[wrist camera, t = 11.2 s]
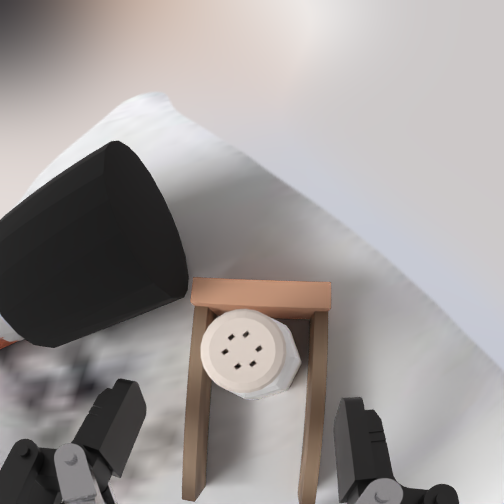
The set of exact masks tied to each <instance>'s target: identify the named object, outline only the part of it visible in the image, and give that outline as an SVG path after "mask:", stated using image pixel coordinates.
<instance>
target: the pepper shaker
mask: <svg viewBox="0 0 504 504" xmlns="http://www.w3.org/2000/svg"><path fill="white" fill-rule="evenodd" d="M201 360H202V363H203V367H204V369H205V371H206V372H207V374H208V376H209V377H210V378H211V379H212V380H213V381H214V383H216V384H217V385H219V386H221V387H222V388H224V389H226V390H228V391H230V392H232V393H234V394H236V395H238V396H240V397H242V398H244V399H246V400H258V399H262V398H265V397H268V396H271V395H275V394H278V393H281V392H284V391H287V390H288V389H289V387H290V385H291V383H292V381H293V379H294V377H295V375H296V373H297V371H298V369H299V367H300V366H301V364H302V361H301V358H300V355H299V352H298V349H297V346H296V344H295V341H294V338H293V335H292V333H291V331H290V330H289V329H288V327H287V326H286V325H284V324H282V323H281V322H279V321H277V320H275V319H273V318H270V317H268V316H267V315H265V314H263V313H261V312H259V311H255V310H250V309H235V310H232V311H229V312H226V313H224V314H222V315H221V316H219V317H217V318H216V319H215V320H214V321H213V322H212V323H211V324H210V325H209V326H208V328H207V330H206V332H205V333H204V335H203V338H202V342H201Z"/></svg>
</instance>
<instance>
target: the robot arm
mask: <svg viewBox="0 0 504 504" xmlns="http://www.w3.org/2000/svg"><path fill="white" fill-rule="evenodd" d="M145 416H146V403H145V401H144V398H143V395H142V393H141V390H140V387H139V385H138V383H137V382H135V381H130V380H125V379H118V380H117V381H116V383H115V385H114V386H113V388H112V389H109V388H107V389H106V390H104V391H103V392H102V393H101V394H100V395H98V397H97V399H96V401H95V402H94V404H93V407H92V408H91V409H90V411H89V414H88V415H87V416H86V418H85V420H84V422H83V424H82V425H81V427H80V429H79V431H78V433H77V434H76V436H75V438H74V440H73V441H72V442H71V443H68V444H64V445H62V446H60V447H59V448H58V449H49V448H39V447H38V446H37V445H36V444H35V443H34V442H33V441H32V440H29V439H21V440H19V441H17V442H16V443H15V444H14V446H13V447H12V449H11V451H10V453H9V455H8V457H7V459H6V461H5V462H4V464H3V466H2V468H1V470H0V504H118V503H117V500H116V497H115V495H114V492H113V490H112V487H111V484H110V482H109V480H110V478H111V475H113V476H116V477H119V478H121V475H122V473H123V470H124V468H125V465H126V463H127V460H128V458H129V455H130V453H131V450H132V448H133V445H134V443H135V441H136V438H137V436H138V433H139V431H140V428H141V426H142V424H143V421H144V419H145ZM334 441H335V453H336V465H337V478H338V493H339V503H346V502H347V504H459V500H458V495H457V492H456V491H455V489H454V488H453V487H451V486H449V485H446V484H438V485H435V486H433V487H432V488H430V489H429V490H423V489H412V488H407V487H404V486H402V485H401V484H399V483H398V482H397V481H396V480H395V478H394V476H393V473H392V468H391V462H390V457H389V453H388V448H387V443H386V439H385V434H384V430H383V425H382V421H381V419H380V417H379V416H378V415H377V413H376V412H375V411H374V410H365V409H364V404H363V400H362V398H361V397H355V398H342V399H341V402H340V405H339V408H338V412H337V415H336V418H335V422H334ZM62 499H63V503H61V501H62Z"/></svg>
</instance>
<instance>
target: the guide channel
mask: <svg viewBox="0 0 504 504" xmlns="http://www.w3.org/2000/svg"><path fill="white" fill-rule="evenodd" d="M190 302H191V303H192V304H193V305H194V306H195V308H194V317H193V327H192V337H191V348H190V359H189V371H188V384H187V398H186V413H185V430H184V450H183V477H182V499H183V500H188V501H193V502H195V501H196V499H197V498H198V496H199V495H200V493H201V492H202V491H203V489H204V488H205V485H206V465H207V446H208V429H209V413H210V399H211V384H212V379H211V378H210V377H209V376H208V374H207V372H206V371H205V369H204V367H203V363H202V360H201V342H202V338H203V335H204V333H205V332H206V330H207V328H208V326H209V325H210V324H211V323H212V322H213V321H214V320H215V319H216V318H217V315H218V316H221V315H222V314H224V313H226V312H229V311H232V310H235V309H250V310H255V311H259V312H261V313H263V314H265V315H267V316H268V317H270V318H276V319H310V328H309V356H308V377H307V395H306V410H305V424H304V436H303V448H302V459H301V469H300V478H299V487H298V499H299V504H315V499H316V491H317V484H318V475H319V466H320V457H321V447H322V436H323V424H324V411H325V395H326V376H327V350H328V311H329V310H330V309H331V282H307V281H274V280H246V279H222V278H201V277H193V283H192V291H191V300H190Z"/></svg>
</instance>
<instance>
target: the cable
mask: <svg viewBox="0 0 504 504" xmlns="http://www.w3.org/2000/svg"><path fill="white" fill-rule="evenodd" d="M188 279H189V276H188V270H187V264H186V258H185V254H184V250H183V247H182V244H181V240H180V237H179V234H178V231H177V228H176V226H175V223H174V221H173V218H172V215H171V213H170V211H169V209H168V207H167V204H166V202H165V200H164V198H163V196H162V194H161V192H160V190H159V189H158V187H157V185H156V183H155V181H154V179H153V178H152V176H151V174H150V173H149V171H148V170H147V168H146V167H145V166H144V164H143V163H142V161H141V160H140V159H139V157H138V156H137V155H136V154H135V153H134V152H133V151H132V150H131V149H130V148H129V147H128V146H127V145H125V144H123V143H122V142H120V141H111V142H109V143H108V144H106V145H104V146H103V147H101V148H99V149H98V150H96V151H94V152H93V153H91V154H89V155H88V156H86V157H85V158H83V159H82V160H80V161H78V162H77V163H75V164H74V165H72V166H71V167H69V168H68V169H66V170H65V171H63V172H62V173H60V174H59V175H57V176H56V177H55V178H53V179H52V180H50V181H49V182H48V183H46V184H45V185H43V186H42V187H41V188H39V189H38V190H37V191H35V192H34V193H33V194H31V195H30V196H29V197H27V198H26V199H25V200H23V201H22V202H21V203H20V204H18V205H17V206H16V207H15V208H13V209H12V210H11V211H10V212H9V213H7V214H6V215H5V216H4V217H3V218H2V219H1V220H0V349H2V348H4V347H6V346H9V345H11V344H13V343H15V342H17V341H20V340H23V339H26V340H27V341H29V342H30V343H32V344H33V345H38V346H45V347H51V348H55V347H58V346H61V345H63V344H66V343H69V342H71V341H74V340H76V339H79V338H82V337H84V336H87V335H89V334H92V333H95V332H97V331H100V330H102V329H105V328H107V327H110V326H113V325H115V324H118V323H120V322H123V321H125V320H128V319H130V318H133V317H135V316H138V315H140V314H143V313H146V312H148V311H151V310H153V309H156V308H158V307H161V306H163V305H166V304H168V303H171V302H173V301H176V300H178V299H181V298H183V297H184V296H185V294H186V292H187V290H188Z"/></svg>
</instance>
